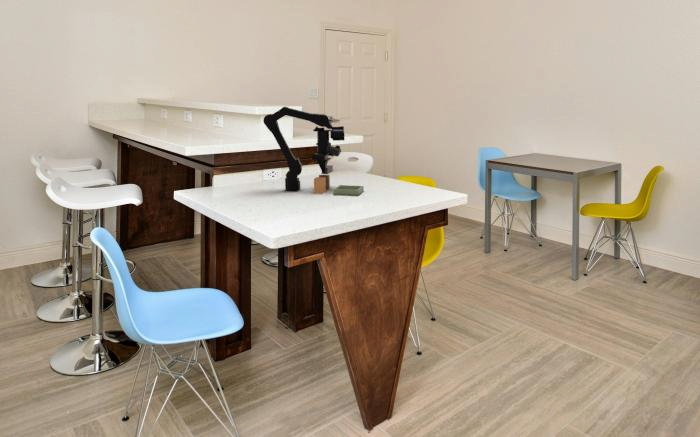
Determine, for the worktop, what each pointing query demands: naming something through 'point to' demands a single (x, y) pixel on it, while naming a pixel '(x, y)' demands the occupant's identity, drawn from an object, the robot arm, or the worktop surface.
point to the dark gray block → (328, 169)
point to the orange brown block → (320, 185)
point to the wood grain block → (326, 181)
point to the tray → (348, 190)
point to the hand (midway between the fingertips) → (323, 172)
